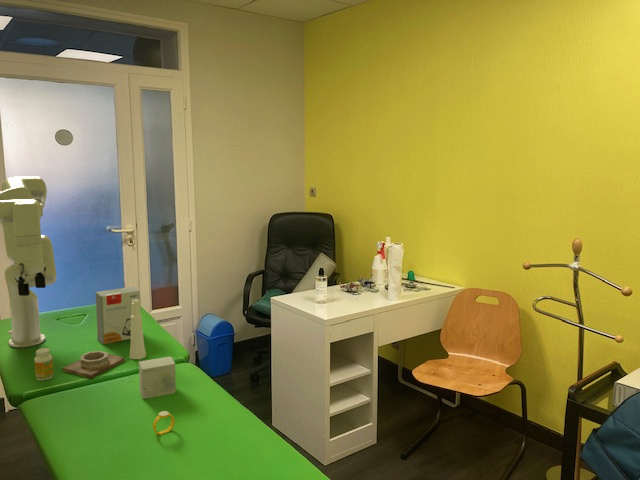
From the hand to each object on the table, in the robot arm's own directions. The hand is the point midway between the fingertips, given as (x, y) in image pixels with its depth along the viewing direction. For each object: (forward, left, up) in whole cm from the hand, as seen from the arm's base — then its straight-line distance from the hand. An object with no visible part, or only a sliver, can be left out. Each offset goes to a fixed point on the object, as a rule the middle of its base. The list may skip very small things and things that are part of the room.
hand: (32, 291), depth 173 cm
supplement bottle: (+2, 0, -30) cm, 30 cm away
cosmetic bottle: (+18, +27, -30) cm, 45 cm away
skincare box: (+43, +8, -30) cm, 53 cm away
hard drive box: (-1, +38, -30) cm, 49 cm away
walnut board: (+10, +14, -30) cm, 35 cm away
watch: (+60, -10, -30) cm, 68 cm away
